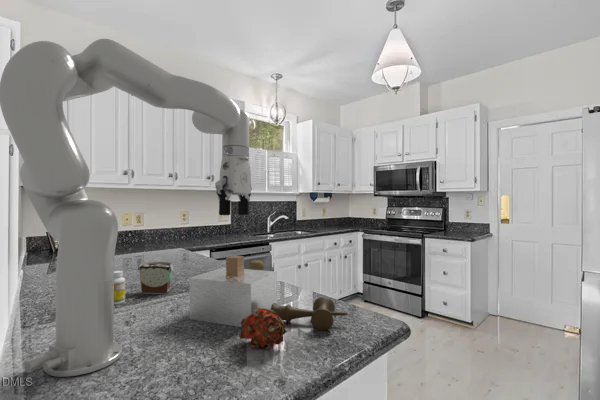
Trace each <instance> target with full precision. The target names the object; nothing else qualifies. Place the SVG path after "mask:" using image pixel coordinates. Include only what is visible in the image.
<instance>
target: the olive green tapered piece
mask: <svg viewBox="0 0 600 400" xmlns="http://www.w3.org/2000/svg"><path fill="white" fill-rule="evenodd" d="M264 268H265V263H264V261H262V260H259V259H258V260H257V259H256V260H252V261H250V262H249V268H248V269H250V270H263V271H264Z"/></svg>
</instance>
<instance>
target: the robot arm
mask: <svg viewBox="0 0 600 400" xmlns="http://www.w3.org/2000/svg"><path fill="white" fill-rule="evenodd" d="M113 87H114V88H116V89H118V90H121V92H124V93H127V94H129V95H131V96H132V97H135V98H137V99H139V100H141V101H143V102H145V103H146V104H149V105H150V106H152V107H155V108H161V109H166V110H168V109H177V110H179V109H180V110H188V111H192V112H193V113H192V114H191V115H192V116H191V122H192V124H193V126H194V127H195V129H197V130H198V131H199V132H201V133H203V134H209V135H220V136H222V137H221V139H222V142H221V147H222V148H221V161H220V171H219V179H218V180H217V181H216V182H215V183H214V186H215V190H216V195H217V196H218V197H217V199H218V203H219V204H218V214H219V216H230V215H231V201H232V200H230V198H231V196H232V195H237V197H238V199H239V200H238V207H237V208H238V209H237V211H238V212H237V213H238V216H239V215H241V216H248V215H249V211H250V207H249V206H250V201H251V200H250V199H251V198H250V197H251V195H252V188H253V187H252V172H251V165H250V122H251V121H250V120H251V119H250V115H249V113H248V112H247V111H246V110H244V109H240V108H239V106H238V104H237V103H236V102H235V101H234V100H233V99H232V98H231V97H230V96H228V95H226V94H225V93H223V92H222V91H220V90H218V89H217V88H216V87H215V86H214V87H213V86H211V85H210V84H207V83H205V82H201V81H198V80H195V79H191V78H187V77H183V76H181V75H176V74H173V73H170V72H168V71H167V70H165V69H164V68H161V67H159V66H158V65H156V64H154V63H153V62H152V61H150V60H148V59H146V58H144V57H143V56H141V55H140V54H138V53H136V52H135V51H133V50H131V49H129V48H128V47H126V46H125V45H123V44H121V43H119V42H117V41H115V40H113V39H110V38H99V39H96V40H94V41H93V42H91V43H90V44H89V45H88V46H87V47H86V48H85V49H84V50H83V51H82V52H80V53H76V54H73V55H72V54H71V53H70V52H69V51H68V50H67V49H66V48H65V47H64V46H62V45H60V44H58V43H56V42H53V41H47V40H39V41H35V42H31V43H28V44H26V45H24V46H23V47H22V48H20V49H19V50H17V51H16V52H15V54H13V55H12V57H10V59H9V60H8V61H7V63H6V65H5V67H4V69H3V71H2V74H1V78H0V109H1V113H2V116H3V119H4V121H5V124H6V127H7V128H8V130H9V132H10V136H12V140H13V142H14V144H15V145H16V148H17V150H18V151H19V154H20V155H21V158H22V161H23V163H22V165H21V167H20V170H19V175H20V182H21V184H22V187H23V189H24V191H25V193H26V195H27V196H28V199H29V200H30V203H31V204H32V206H33V208H34V210H35V211H36V213H37V216H38V217H39V219H40V221H41V223H42V225H43V226H44V228H45V229H46V231H47V232H48V234H49V235H50V237H52V238H53V239H54V240H56V241H57V242H58V247H57V248H58V249H57V254H56V255H57V257H56V263H55V265H56V266H55V336H54V337H55V339H54V341H55V343H53V344H50V345H49V347H48V351H46V352H45V353H44V354H43V355H41V356H38V357H35V358H33V359H31V360H27V361H26V362H25V363H24V370H25V372H26V373H28V374H29V373H32V372H34V371H37V370H39V369H41V368H42V369H43V371H44V372H45V373H46V375H49V376H53V377H57V378H59V377H60V378H68V377H77V376H82V375H85V374H89V373H93V372H96V371H99V370H102V369H104V368H106V367H108V366H110V365H113V363H115V362H117V360H119V359H120V357H121V356H122V354H123V347H122V345H121V344H119V343H118V342H114V337H115V336H114V331H115V327H114V324H115V323H114V321H115V319H114V317H115V314H114V313H115V312H114V310H115V309H114V308H115V305H114V271H115V255H116V246H117V241H118V234H119V224H118V218H117V216H116V213H115V212H114V211H113V209H111V207H110V206H109V205H107V204H106V203H103V202H101V201H98V200H95V199H89V197H88V195H87V192H86V190H85V187H87V186H88V183H89V182H90V179H91V177H90V176H91V173H90V168H89V167H88V164H87V163H86V160H85V158H84V157H83V154H82V152H81V150H80V149H79V146H78V144H77V142H76V139H75V138H74V136H73V133H72V131H71V130H70V126H69V124H68V122H67V119H66V116H65V112H64V106H63V105H64V103H63V102H67V101H71V100H75V99H79V98H80V99H81V98H84V97H88V96H89V97H90V96H93V95H96V94H100V93H104V92H106V91H108V90H111V89H112V88H113Z"/></svg>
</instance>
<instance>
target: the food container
mask: <svg viewBox="0 0 600 400" xmlns="http://www.w3.org/2000/svg"><path fill="white" fill-rule="evenodd" d="M137 267H138V268H137V271H139V279H140V290H141V291H140V293H141V294H145V295H146V294H148V295H150V294H152V295H153V294H154V295H168V294H169V293H170V288H171V281H172V280H171V279H172V271H174V265H173V263H172V262H170V261H153V262H143V263H139V264H138V266H137Z"/></svg>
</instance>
